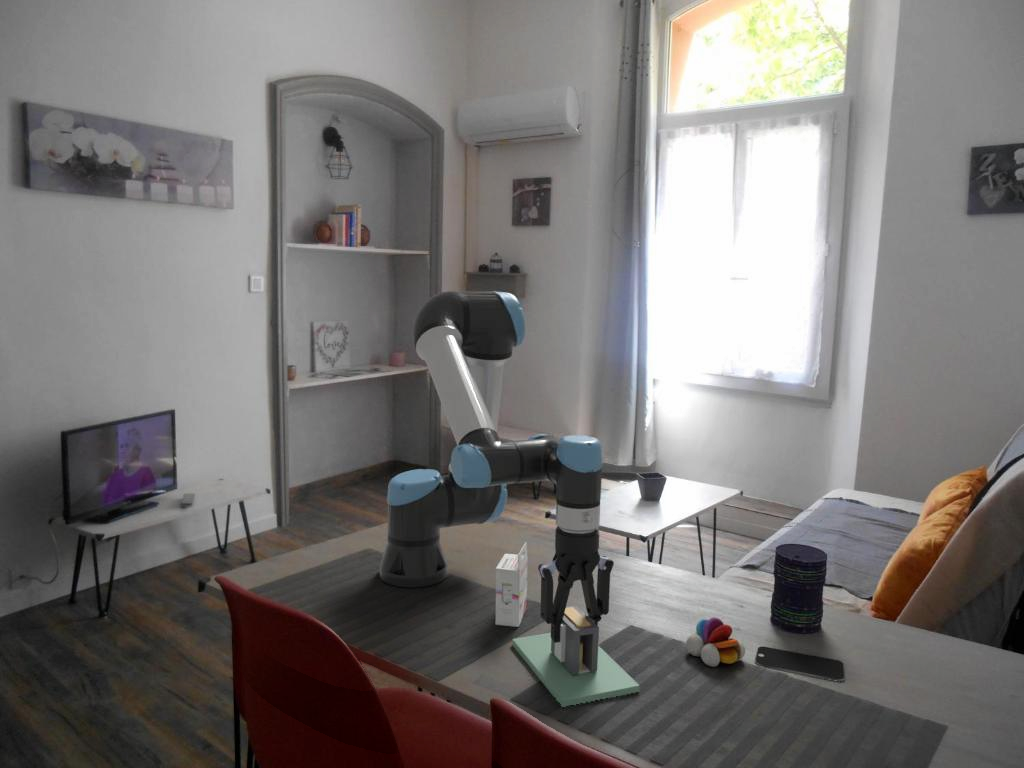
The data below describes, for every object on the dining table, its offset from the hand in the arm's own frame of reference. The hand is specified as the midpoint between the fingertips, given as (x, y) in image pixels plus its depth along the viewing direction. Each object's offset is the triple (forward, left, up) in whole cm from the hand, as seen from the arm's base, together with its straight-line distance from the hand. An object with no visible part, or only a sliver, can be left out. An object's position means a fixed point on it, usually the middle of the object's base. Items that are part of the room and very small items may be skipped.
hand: (573, 655), depth 137 cm
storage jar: (-1, +50, -3) cm, 50 cm away
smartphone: (+12, +39, -3) cm, 41 cm away
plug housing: (0, 0, -1) cm, 1 cm away
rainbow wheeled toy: (+5, +26, -3) cm, 27 cm away
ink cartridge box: (-22, -3, -3) cm, 23 cm away
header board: (0, 0, -2) cm, 2 cm away
